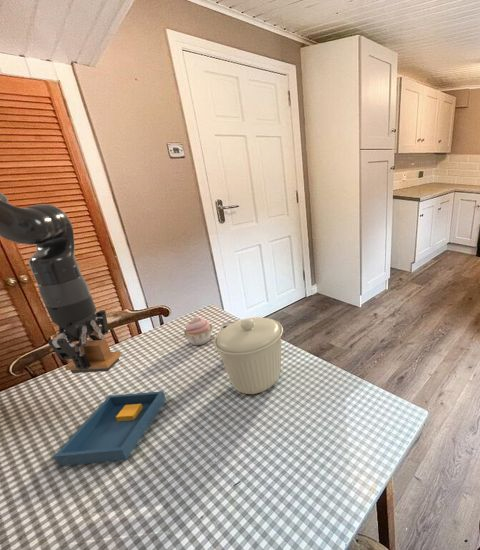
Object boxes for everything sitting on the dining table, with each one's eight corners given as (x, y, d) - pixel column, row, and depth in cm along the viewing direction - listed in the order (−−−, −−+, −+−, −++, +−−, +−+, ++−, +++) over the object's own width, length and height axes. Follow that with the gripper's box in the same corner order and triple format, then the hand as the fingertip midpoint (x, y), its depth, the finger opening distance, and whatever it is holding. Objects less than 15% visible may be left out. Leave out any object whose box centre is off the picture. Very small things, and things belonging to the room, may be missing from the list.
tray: (59, 468, 65) (53, 456, 64) (113, 405, 82) (109, 395, 80) (127, 461, 67) (122, 449, 65) (166, 401, 83) (163, 391, 82)
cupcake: (203, 350, 104) (196, 325, 101) (180, 346, 107) (173, 321, 103) (221, 335, 113) (215, 311, 109) (199, 332, 115) (194, 309, 111)
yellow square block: (117, 421, 76) (115, 417, 75) (127, 409, 80) (125, 404, 79) (134, 420, 76) (132, 415, 76) (143, 407, 80) (141, 403, 80)
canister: (242, 415, 78) (227, 347, 70) (214, 381, 90) (199, 320, 82) (300, 380, 90) (293, 318, 82) (269, 354, 102) (261, 298, 94)
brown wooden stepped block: (68, 374, 71) (57, 350, 68) (84, 361, 76) (74, 338, 73) (109, 372, 72) (100, 348, 69) (122, 359, 77) (114, 336, 74)
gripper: (74, 285, 73) (98, 344, 79) (17, 314, 60) (51, 382, 66) (108, 283, 74) (128, 342, 80) (59, 312, 60) (88, 380, 67)
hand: (93, 360), depth 73 cm, fingers closed on brown wooden stepped block, 5 cm apart
